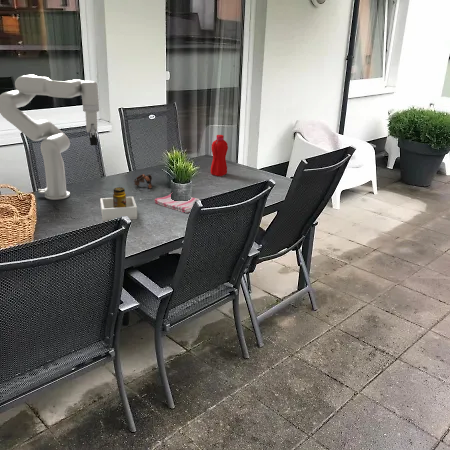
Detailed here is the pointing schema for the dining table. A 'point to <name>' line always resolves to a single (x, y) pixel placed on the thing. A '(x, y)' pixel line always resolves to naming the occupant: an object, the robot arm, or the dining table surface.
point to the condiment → (119, 197)
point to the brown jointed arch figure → (141, 179)
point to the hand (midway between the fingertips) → (93, 142)
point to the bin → (118, 209)
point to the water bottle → (219, 156)
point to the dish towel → (176, 203)
